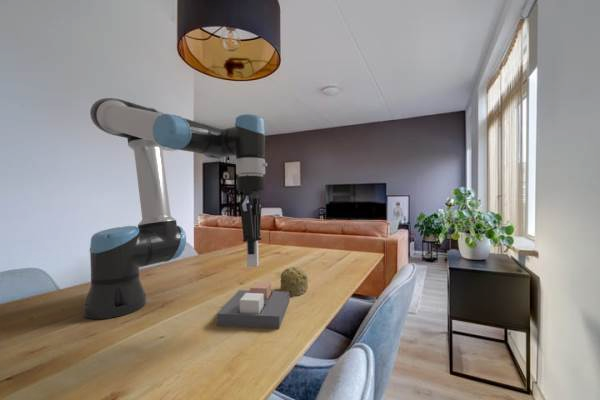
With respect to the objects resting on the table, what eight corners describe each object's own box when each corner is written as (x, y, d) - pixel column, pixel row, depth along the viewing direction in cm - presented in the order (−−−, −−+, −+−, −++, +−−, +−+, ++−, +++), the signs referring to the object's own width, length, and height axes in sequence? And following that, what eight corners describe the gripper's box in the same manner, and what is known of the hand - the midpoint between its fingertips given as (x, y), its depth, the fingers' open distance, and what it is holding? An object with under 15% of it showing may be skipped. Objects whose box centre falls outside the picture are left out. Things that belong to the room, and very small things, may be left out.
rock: (276, 301, 92) (270, 281, 87) (290, 277, 100) (285, 257, 95) (301, 308, 88) (296, 287, 83) (313, 282, 96) (310, 262, 91)
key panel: (216, 325, 67) (216, 313, 67) (239, 299, 84) (239, 290, 84) (279, 328, 65) (279, 316, 65) (289, 301, 82) (289, 291, 82)
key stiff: (250, 299, 77) (250, 287, 77) (254, 293, 82) (254, 282, 82) (267, 300, 76) (267, 288, 76) (270, 294, 81) (270, 282, 81)
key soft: (239, 313, 68) (239, 299, 68) (245, 305, 73) (245, 292, 73) (258, 314, 67) (258, 300, 67) (263, 306, 72) (263, 293, 72)
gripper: (258, 173, 63) (260, 272, 63) (270, 177, 76) (272, 260, 76) (228, 174, 64) (229, 272, 64) (245, 178, 77) (246, 260, 77)
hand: (252, 265), depth 70 cm, fingers closed
